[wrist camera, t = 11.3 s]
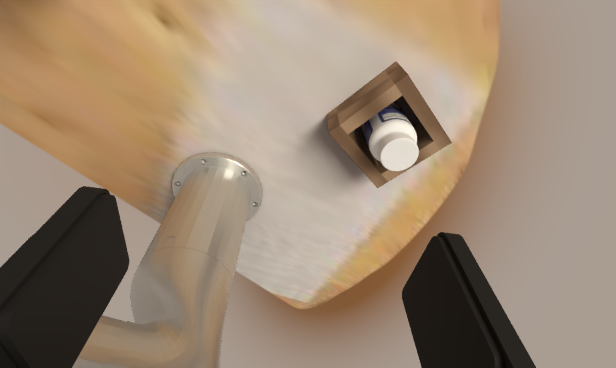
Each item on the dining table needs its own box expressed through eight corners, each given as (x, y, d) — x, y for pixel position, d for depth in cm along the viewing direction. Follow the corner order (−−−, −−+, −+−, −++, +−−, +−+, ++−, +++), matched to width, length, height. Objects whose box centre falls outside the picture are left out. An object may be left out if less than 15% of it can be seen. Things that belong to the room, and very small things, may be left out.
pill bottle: (380, 146, 42) (396, 185, 35) (352, 122, 40) (362, 159, 33) (412, 117, 40) (435, 152, 33) (383, 91, 38) (402, 122, 31)
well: (370, 166, 44) (377, 188, 40) (326, 115, 39) (328, 133, 35) (437, 123, 40) (451, 142, 36) (396, 61, 36) (408, 74, 32)
